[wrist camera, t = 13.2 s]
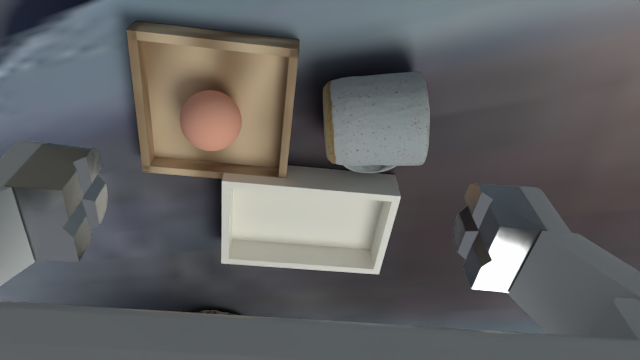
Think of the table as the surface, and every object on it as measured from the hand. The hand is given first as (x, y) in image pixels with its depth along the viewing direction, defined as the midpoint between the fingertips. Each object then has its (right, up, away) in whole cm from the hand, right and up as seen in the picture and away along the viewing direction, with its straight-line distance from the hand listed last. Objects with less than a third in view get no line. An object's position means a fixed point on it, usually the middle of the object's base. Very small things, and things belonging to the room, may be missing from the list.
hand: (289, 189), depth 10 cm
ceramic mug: (+5, +6, +32) cm, 33 cm away
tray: (-8, +7, +31) cm, 32 cm away
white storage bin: (-1, -3, +38) cm, 38 cm away
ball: (-8, +5, +28) cm, 30 cm away
